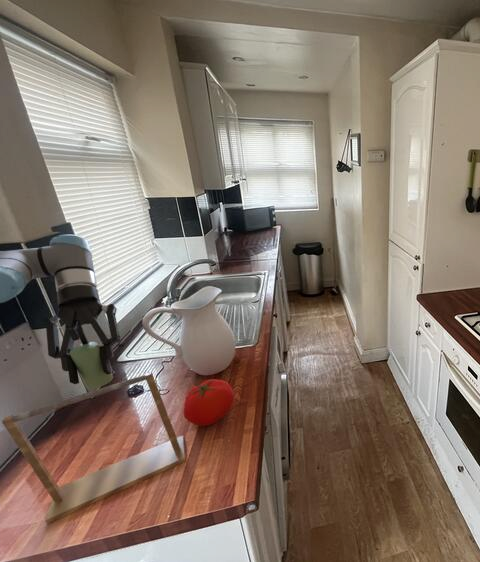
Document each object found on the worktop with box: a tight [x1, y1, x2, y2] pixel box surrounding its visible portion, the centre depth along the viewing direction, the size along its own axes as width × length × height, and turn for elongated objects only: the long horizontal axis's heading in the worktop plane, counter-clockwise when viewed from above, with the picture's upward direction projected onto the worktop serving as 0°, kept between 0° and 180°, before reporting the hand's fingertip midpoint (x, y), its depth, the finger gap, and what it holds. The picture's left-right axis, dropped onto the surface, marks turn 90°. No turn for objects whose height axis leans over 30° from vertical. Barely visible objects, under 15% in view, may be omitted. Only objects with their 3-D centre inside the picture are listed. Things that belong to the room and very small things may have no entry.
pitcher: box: [142, 285, 236, 376], centre depth 103 cm, size 24×17×28 cm
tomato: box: [183, 378, 235, 427], centre depth 86 cm, size 13×12×11 cm
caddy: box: [68, 320, 114, 390], centre depth 73 cm, size 5×5×16 cm
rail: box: [1, 371, 187, 525], centre depth 68 cm, size 25×8×25 cm, turn 123°
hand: (91, 377), depth 71 cm, fingers closed on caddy, 5 cm apart
